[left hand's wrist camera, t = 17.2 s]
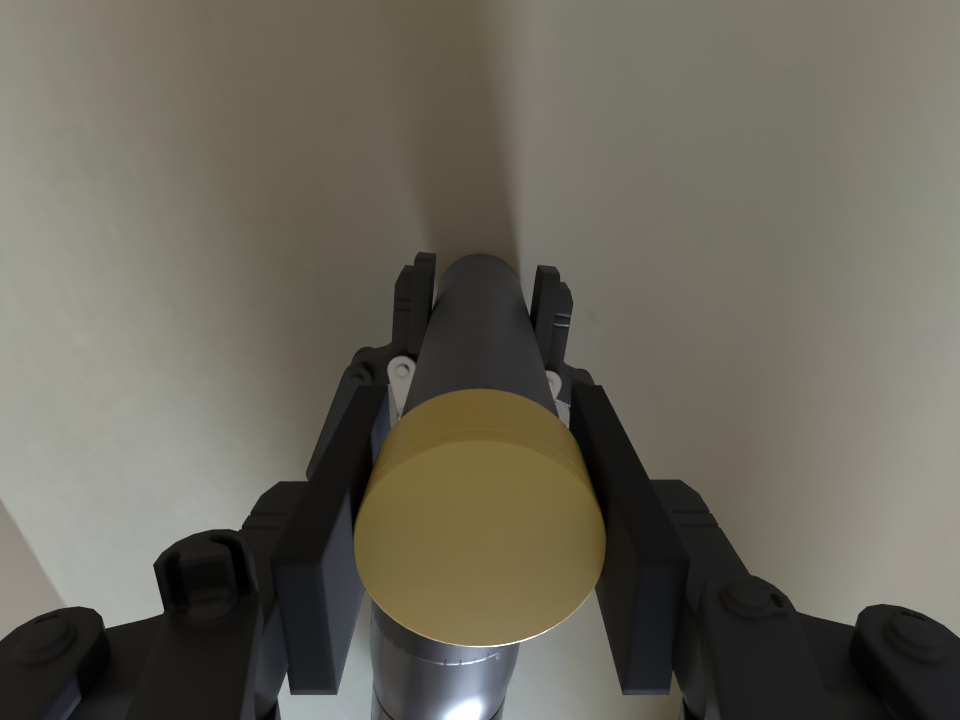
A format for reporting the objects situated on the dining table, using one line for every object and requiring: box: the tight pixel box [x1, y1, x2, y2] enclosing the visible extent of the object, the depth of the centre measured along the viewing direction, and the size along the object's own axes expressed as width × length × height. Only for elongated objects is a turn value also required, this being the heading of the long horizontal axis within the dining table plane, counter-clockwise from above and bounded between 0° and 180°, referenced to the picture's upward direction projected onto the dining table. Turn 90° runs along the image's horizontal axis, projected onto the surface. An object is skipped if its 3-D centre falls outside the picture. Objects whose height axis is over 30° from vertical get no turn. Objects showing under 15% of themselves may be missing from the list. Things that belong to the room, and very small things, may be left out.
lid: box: [353, 389, 607, 647], centre depth 12 cm, size 5×5×2 cm
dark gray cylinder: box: [400, 254, 559, 419], centre depth 20 cm, size 4×4×19 cm
